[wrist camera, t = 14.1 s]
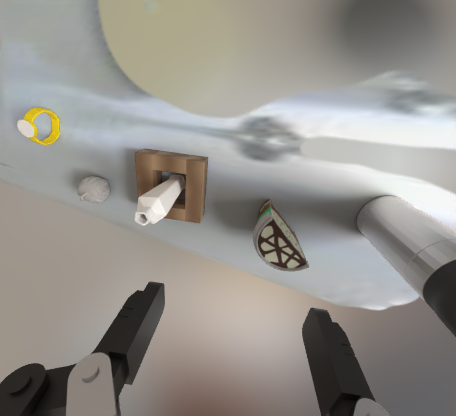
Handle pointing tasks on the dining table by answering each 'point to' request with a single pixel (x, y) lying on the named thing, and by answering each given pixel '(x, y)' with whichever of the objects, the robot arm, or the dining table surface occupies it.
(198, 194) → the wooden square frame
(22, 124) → the watch
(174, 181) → the white faceted vase
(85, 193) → the garlic
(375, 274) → the dining table surface
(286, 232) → the food container
